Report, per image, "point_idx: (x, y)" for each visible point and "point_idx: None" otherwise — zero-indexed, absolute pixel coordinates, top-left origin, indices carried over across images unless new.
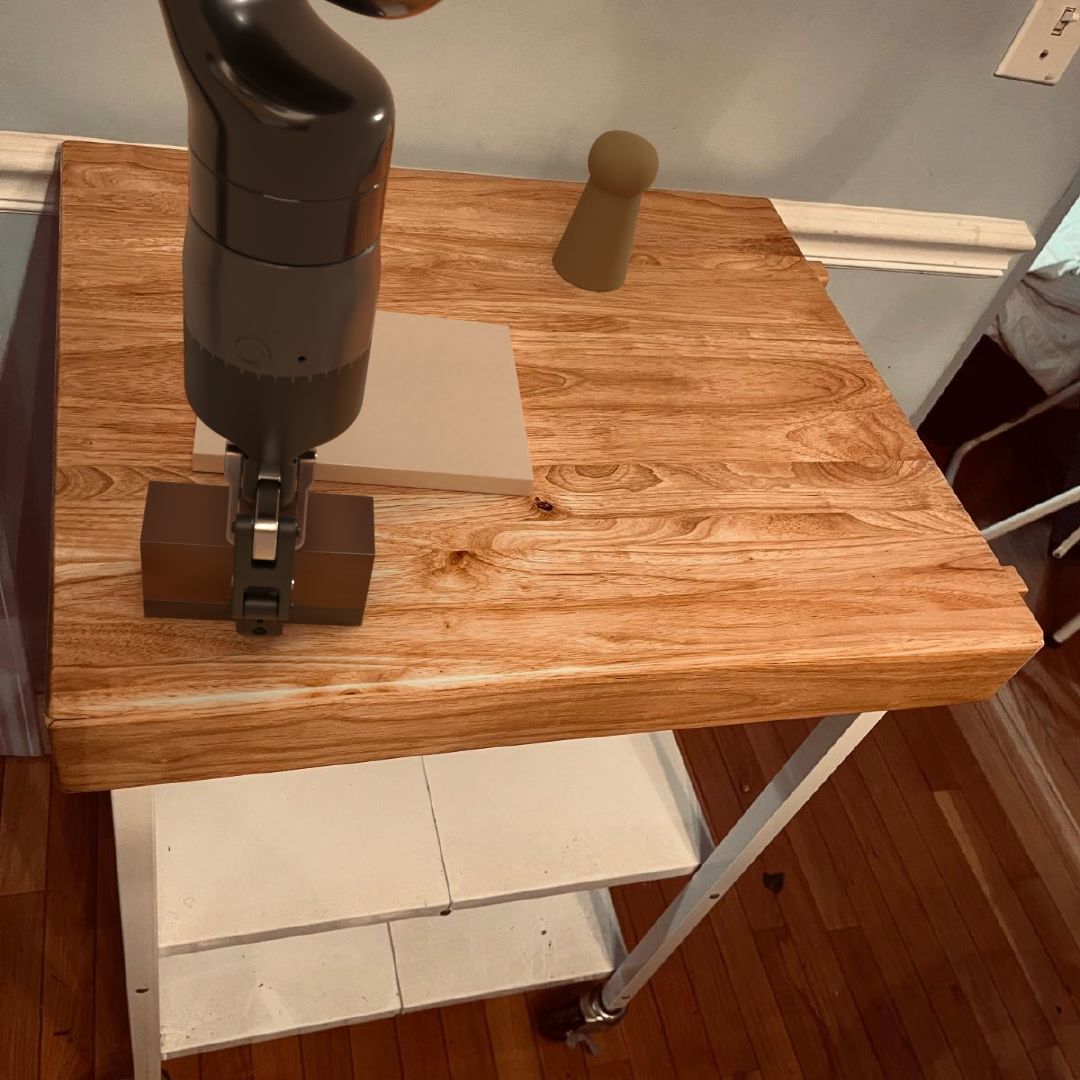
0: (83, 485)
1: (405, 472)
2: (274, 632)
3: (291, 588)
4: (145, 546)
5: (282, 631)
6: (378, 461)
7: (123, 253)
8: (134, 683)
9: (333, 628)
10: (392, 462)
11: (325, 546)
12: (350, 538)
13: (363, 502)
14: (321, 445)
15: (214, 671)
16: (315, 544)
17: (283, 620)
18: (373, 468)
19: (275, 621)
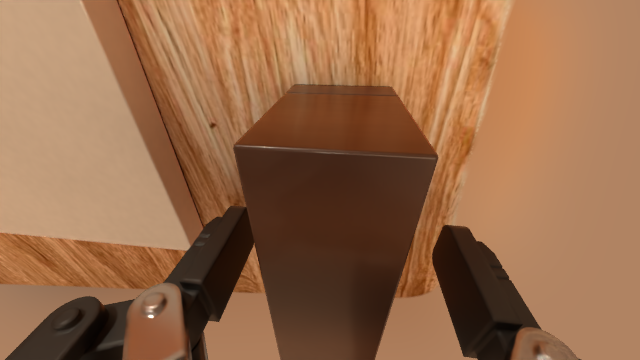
0: (245, 285)
1: (88, 3)
2: (498, 260)
3: (563, 355)
4: None
5: (469, 231)
6: (94, 59)
7: (12, 263)
8: (425, 268)
9: None
10: (81, 32)
11: (395, 245)
12: (376, 204)
13: (259, 169)
14: (114, 142)
15: (426, 226)
16: (389, 258)
17: (482, 252)
18: (113, 67)
19: (511, 283)
